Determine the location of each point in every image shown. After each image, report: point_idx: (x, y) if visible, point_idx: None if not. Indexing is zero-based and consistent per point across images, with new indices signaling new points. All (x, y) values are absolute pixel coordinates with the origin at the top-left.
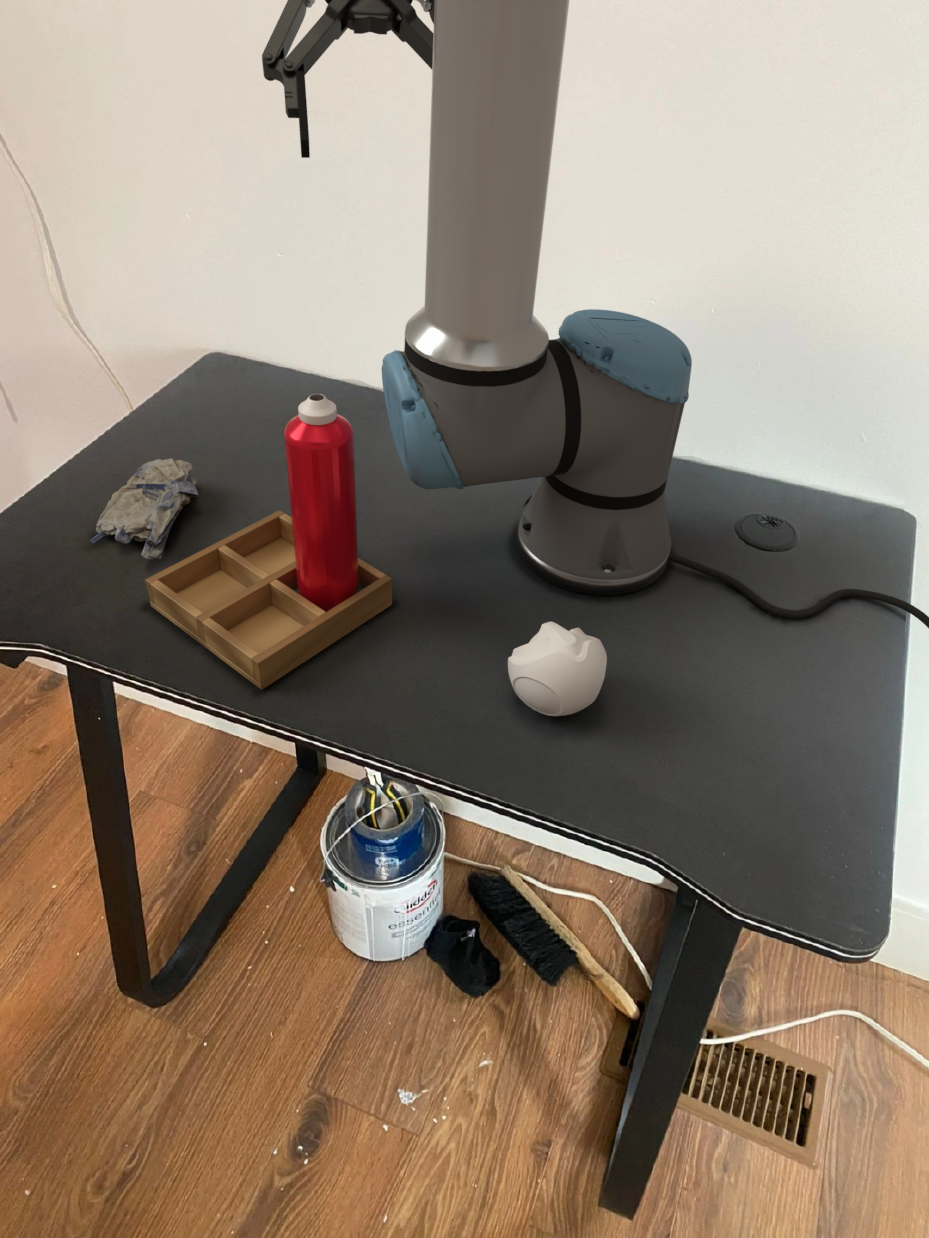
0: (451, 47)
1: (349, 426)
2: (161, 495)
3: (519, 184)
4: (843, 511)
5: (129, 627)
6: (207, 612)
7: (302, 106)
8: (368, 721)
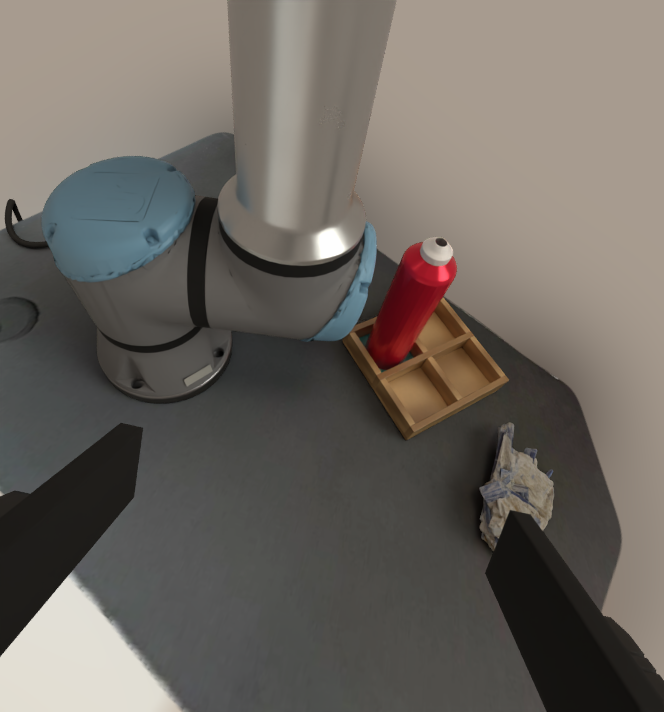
0: None
1: (407, 253)
2: (511, 486)
3: None
4: None
5: (507, 375)
6: (467, 337)
7: (569, 584)
8: (379, 269)
